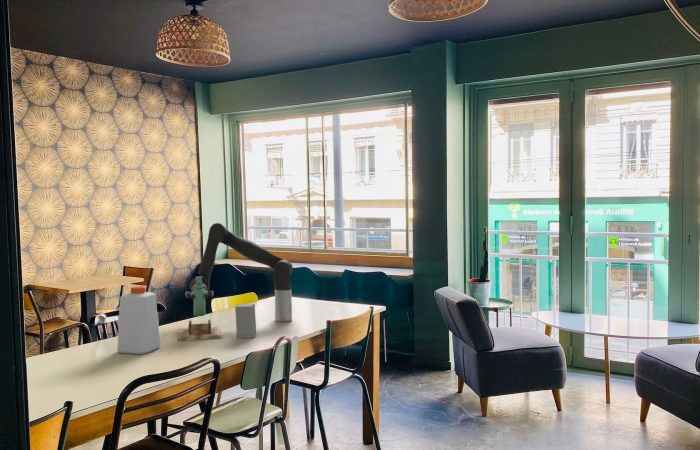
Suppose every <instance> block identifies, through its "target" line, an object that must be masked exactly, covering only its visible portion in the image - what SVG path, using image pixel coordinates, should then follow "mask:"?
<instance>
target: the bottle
mask: <svg viewBox="0 0 700 450" xmlns="http://www.w3.org/2000/svg"><path fill="white" fill-rule="evenodd" d="M195 278H196V285H195V289H193V293H194V299H193V316H194V317H203V316H206V299H205V288H203V284H202V280H203V276H201V275H199V276H198V275H197V276H195Z"/></svg>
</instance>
